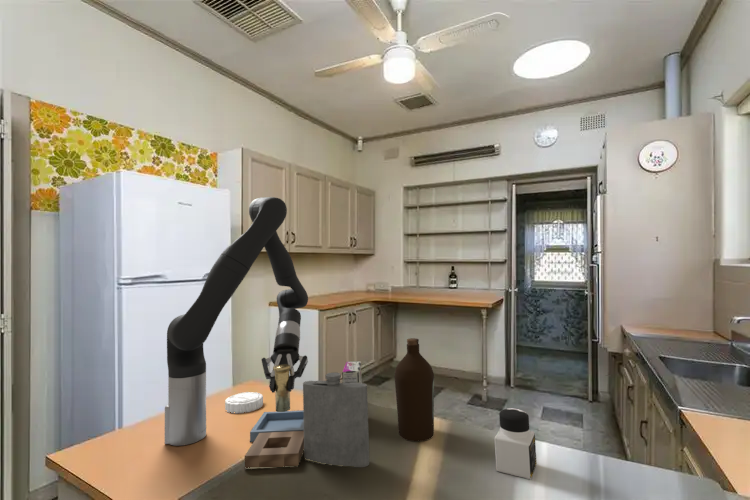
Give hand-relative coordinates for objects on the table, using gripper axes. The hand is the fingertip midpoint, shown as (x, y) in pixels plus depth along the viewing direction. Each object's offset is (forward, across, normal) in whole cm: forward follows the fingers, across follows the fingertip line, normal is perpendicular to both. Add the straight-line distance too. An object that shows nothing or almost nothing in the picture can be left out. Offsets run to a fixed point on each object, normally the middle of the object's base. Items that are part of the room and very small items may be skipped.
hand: (281, 390), depth 102 cm
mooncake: (-7, -17, +24) cm, 30 cm away
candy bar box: (+6, +20, +10) cm, 23 cm away
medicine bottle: (+27, +55, -10) cm, 62 cm away
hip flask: (+21, +15, -5) cm, 26 cm away
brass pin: (+3, 0, +6) cm, 6 cm away
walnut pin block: (+17, +1, -2) cm, 17 cm away
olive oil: (+13, +36, +4) cm, 39 cm away
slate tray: (+7, 0, +9) cm, 11 cm away
